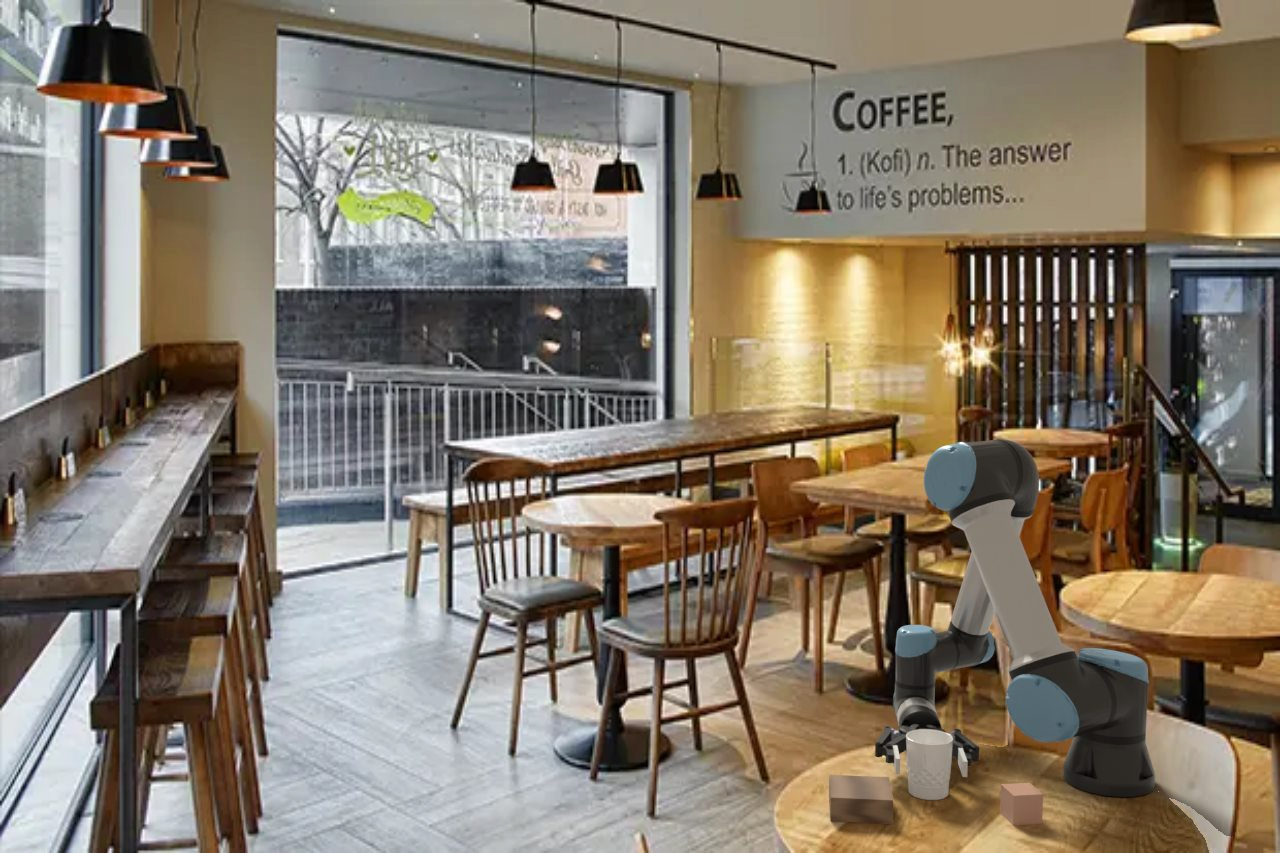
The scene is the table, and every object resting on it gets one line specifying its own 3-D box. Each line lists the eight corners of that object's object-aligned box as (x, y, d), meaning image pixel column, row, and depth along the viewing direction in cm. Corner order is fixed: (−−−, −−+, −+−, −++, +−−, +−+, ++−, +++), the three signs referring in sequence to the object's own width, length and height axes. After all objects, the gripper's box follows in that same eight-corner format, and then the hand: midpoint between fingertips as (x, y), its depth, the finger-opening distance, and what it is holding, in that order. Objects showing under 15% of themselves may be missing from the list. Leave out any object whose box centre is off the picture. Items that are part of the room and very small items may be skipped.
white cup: (952, 803, 215) (954, 746, 214) (904, 800, 216) (906, 743, 215) (950, 786, 222) (952, 730, 221) (904, 782, 224) (905, 727, 223)
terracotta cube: (1028, 811, 211) (1029, 782, 211) (1042, 823, 206) (1043, 794, 206) (999, 813, 211) (1000, 784, 210) (1012, 825, 206) (1013, 795, 205)
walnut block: (888, 800, 216) (888, 777, 216) (892, 824, 206) (893, 800, 206) (828, 797, 217) (829, 774, 217) (830, 821, 207) (830, 797, 207)
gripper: (981, 746, 235) (1000, 792, 213) (856, 741, 238) (862, 786, 216) (982, 706, 235) (1001, 749, 213) (856, 702, 237) (862, 743, 216)
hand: (931, 767), depth 214 cm, fingers open, 10 cm apart
